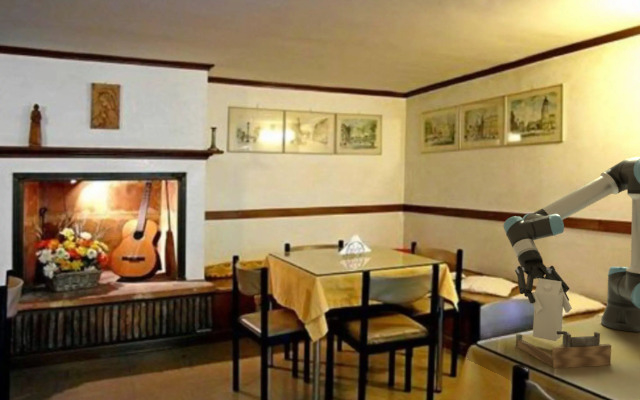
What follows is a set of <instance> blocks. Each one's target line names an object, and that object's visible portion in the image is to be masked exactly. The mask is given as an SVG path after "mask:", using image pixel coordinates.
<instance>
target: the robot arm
mask: <svg viewBox="0 0 640 400" xmlns="http://www.w3.org/2000/svg"><path fill="white" fill-rule="evenodd" d="M624 191H627V192H626V193H627V196H629V197H630V198H631V235H630V236H631V238H630V239H631V240H630V241H631V242H630V243H631V244H630V248H631V249H630V265H629V266H611V267H609V269H608V274H607V296H606V297H607V299H606V301H607V303H606V307H605V309H604V311H603V314H602V316H601V318H600V319H601V320H600V324H601V325H603V326H604V327H606V328H610V329H613V330H618V331H624V332H633V333H634V332H635V333H637V332H640V156H633V157H632V156H631V157H629V158H625V159H624V160H622V161H620V162H618V163H616V164H615V165H613V166H611V167H610V168H608V169H606V170H604V171H602V172H601V173H600V176H599V177H597V178H595V179H593V180H592V181H590V182H588V183H586V184H584V185H583V186H580V187H579V188H576V189H575V190H573V191H571V192H569V193H568V194H566V195H564V196H562V197H560V198H558V199H556V200H555V201H553V202H551V203H549V204H547V205H546V206H544V207H542V208H540V209H538V210H536V211H534V212H531V213H527V214H525V215H524V216H523V217H521V216H519V215H518V216H516V215H515V216H511V217H508V218H507V219H506V220H505V221H504V223H503V225H502V226H503V229H504V232H505V235H506V237H507V239H508V241H509V243H510V245H511V247H512V249H513V252H514V255H515V257H516V259H517V260H518V264H519V265H518V266H517V267H516V269H515V270H514V271H515V274H516V276H517V282H518V290H519V294H521V295H524V297H525V298H528V301H529V303H530V304H532V306H533V309H534V308H535V311H536V313H537V314H539V313H540V312H541V311H542V310H543V309H542V306H541V304H540V302H539V300H538V298H537V295H536V293H535V291H533V286H534V280H536V279H539V278H540V279H547V280H554V281H561V285H562V288H563V291H564V295H563V310H564V312H565V313H567V314H568V313H569V312H570V311H571V310H572V309H573V308H572V305H571V304H570V298H569V296H568V294H567V292H568V291H569V290H570V287H569V285H567V283H566V282H565V281H564V280H563V278H562V277H561V276H560V275H559V273H558V272H557V271H556V269H555V267H554V265H550V266H546V265H545V264H544V261H543V260H544V259H543V258H542V256H541V253H540V251H539V249H538V248H537V245H536V242H535V241H536V240H541V239H545V238H549V237H553V236H554V237H556V236H557V235H560V234H562V233H564V230H565V225H564V221H563V220H565V219H568V218H569V217H571V216H572V215H575V214H576V213H578V212H580V211H582V210H584V209H586V208H587V207H590V206H591V205H593V204H595V203H597V202H599V201H601V200H602V199H604V198H606V197H608V196H610V195H617V194H619V193H623V192H624ZM525 274H526V275H527V276H526V278H525Z"/></svg>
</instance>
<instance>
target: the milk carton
mask: <svg viewBox="0 0 640 400" xmlns="http://www.w3.org/2000/svg"><path fill="white" fill-rule="evenodd" d="M537 279H538V278H537ZM534 292H535V293H536V295H537V298H538V300H539V302H540V304H541V306H542V309H543V310H542V311H541V312H540V313H539V314H537V313H536V311H535V308H534V307H533V322H532V323H533V325H532V337H534V338H538V339H543V340H548V341H553V342H556V341H558V340H559V339H560V338H561V337H563V334H559V335H557V333H556V332H557V331H563V313H564V311H563V310H564V308H563V295H564V291H563V288H562V285H561V281H554V280H547V279H540V278H539V279H538V282H537V284H536V287H535V290H534Z"/></svg>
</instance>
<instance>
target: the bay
mask: <svg viewBox="0 0 640 400" xmlns="http://www.w3.org/2000/svg"><path fill="white" fill-rule="evenodd" d="M556 333H557V335H559V334H562V345H563V346H561V345H560V346H552V347H551V348H552V349H551V350H552V353H551V354H550V353H548V352H546V351H545V350H543V349H540V348H539V347H537V346H535V345H533V344H531V343H530V342H528V341H526V340H525V339H523V334H521V333H516V334H515V347H517V348H519V349H521V350H522V351H524V352H526V353H527V354H529V355H531V356H533V357H534V358H536V359H537V360H539V361H541V362H543V363H545V364H547V365H548V366H550V367H552V369H553V368H554V369H563V368H578V367H579V368H582V367H597V366H598V367H599V366H610V365H611V364H612V363H611V360H612V345H611V344H609V343H604V344H601V341H600V340H601V333H600V332H598V331H596V332H595V331H594V333H593V335H588V336H586V335H585V336H572V334H570V332H568V331H566V330H562V331H557V332H556Z"/></svg>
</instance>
